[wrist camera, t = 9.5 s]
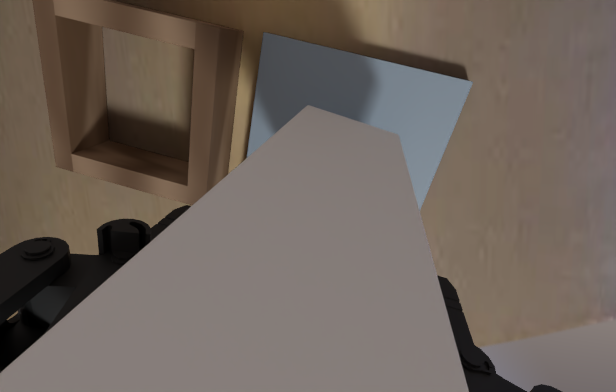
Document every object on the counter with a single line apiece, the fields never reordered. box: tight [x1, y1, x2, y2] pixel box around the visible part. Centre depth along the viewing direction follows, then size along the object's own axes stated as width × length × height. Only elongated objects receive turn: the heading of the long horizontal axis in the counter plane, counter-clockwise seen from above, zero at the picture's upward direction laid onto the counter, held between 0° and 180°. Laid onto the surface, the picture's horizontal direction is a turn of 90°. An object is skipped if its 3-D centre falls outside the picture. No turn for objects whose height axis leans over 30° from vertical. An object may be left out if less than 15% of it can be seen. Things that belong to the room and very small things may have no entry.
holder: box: [32, 0, 244, 205], centre depth 24 cm, size 12×12×4 cm
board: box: [247, 32, 473, 211], centre depth 25 cm, size 14×13×1 cm
